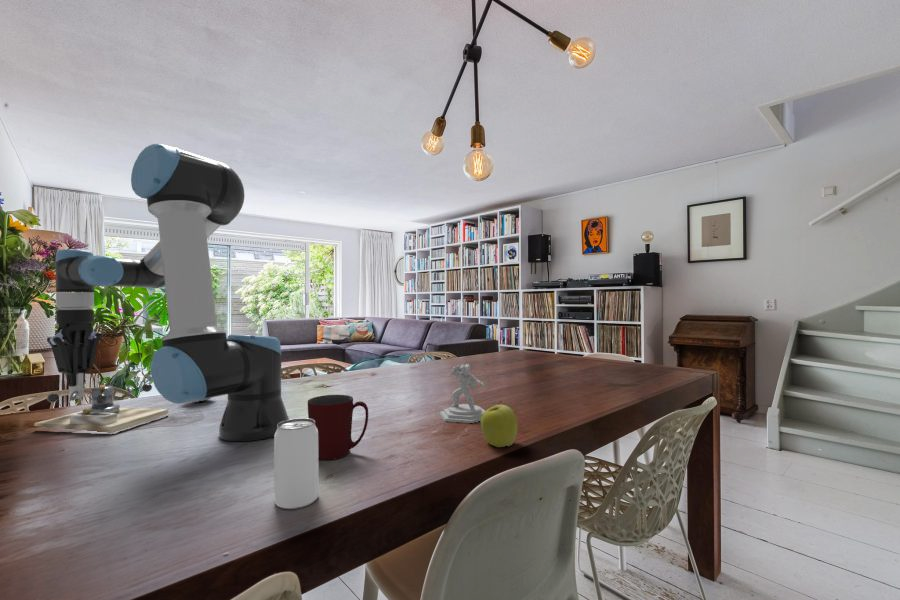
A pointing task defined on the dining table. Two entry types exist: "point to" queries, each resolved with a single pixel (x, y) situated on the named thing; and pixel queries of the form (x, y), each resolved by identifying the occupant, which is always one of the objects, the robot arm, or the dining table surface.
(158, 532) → the dining table surface
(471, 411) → the figurine
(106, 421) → the stand
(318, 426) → the mug
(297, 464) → the can
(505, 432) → the apple
